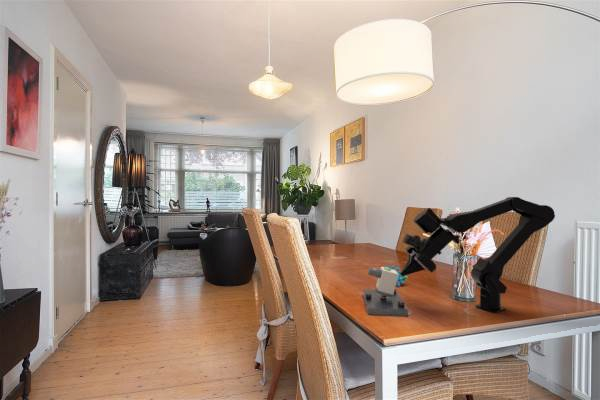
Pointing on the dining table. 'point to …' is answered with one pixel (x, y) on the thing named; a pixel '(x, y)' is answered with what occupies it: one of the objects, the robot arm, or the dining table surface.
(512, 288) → the dining table surface
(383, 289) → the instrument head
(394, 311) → the base
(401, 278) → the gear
